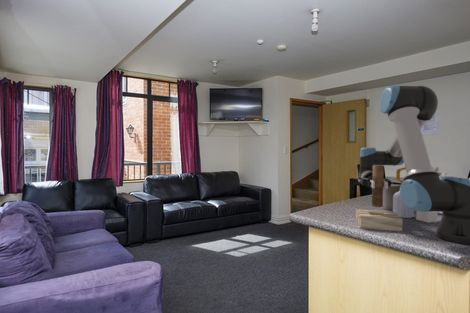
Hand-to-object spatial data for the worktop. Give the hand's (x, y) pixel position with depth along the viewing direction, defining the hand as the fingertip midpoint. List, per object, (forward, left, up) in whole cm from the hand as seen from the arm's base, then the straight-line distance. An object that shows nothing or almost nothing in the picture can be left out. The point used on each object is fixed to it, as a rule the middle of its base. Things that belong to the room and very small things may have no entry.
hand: (380, 185), depth 129 cm
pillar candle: (+38, -30, -19) cm, 52 cm away
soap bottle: (+21, -25, -19) cm, 37 cm away
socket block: (+5, -2, -18) cm, 19 cm away
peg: (+5, -2, -10) cm, 11 cm away
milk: (+11, -30, -19) cm, 37 cm away
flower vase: (+30, -44, -18) cm, 56 cm away
